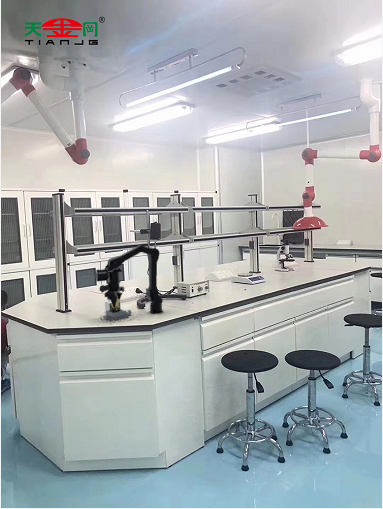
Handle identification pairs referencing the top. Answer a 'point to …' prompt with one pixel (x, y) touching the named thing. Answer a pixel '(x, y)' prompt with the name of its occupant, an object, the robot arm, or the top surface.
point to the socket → (117, 314)
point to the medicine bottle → (109, 304)
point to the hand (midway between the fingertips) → (115, 306)
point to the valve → (116, 305)
